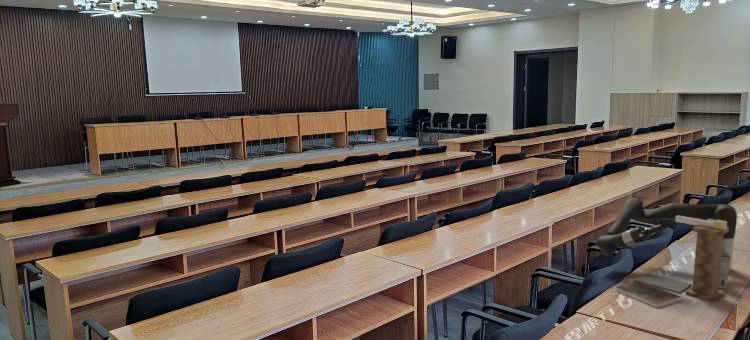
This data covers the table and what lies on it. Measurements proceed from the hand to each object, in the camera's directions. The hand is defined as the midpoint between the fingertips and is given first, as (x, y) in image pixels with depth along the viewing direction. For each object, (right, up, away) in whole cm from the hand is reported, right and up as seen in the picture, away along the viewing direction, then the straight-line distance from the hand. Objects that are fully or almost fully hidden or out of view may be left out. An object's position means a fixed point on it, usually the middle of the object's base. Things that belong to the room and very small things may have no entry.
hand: (665, 226), depth 256 cm
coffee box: (+25, -28, +2) cm, 38 cm away
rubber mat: (+1, -28, +5) cm, 28 cm away
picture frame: (-13, -32, -8) cm, 35 cm away
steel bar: (+9, +2, -12) cm, 15 cm away
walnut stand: (+13, -30, -9) cm, 34 cm away
